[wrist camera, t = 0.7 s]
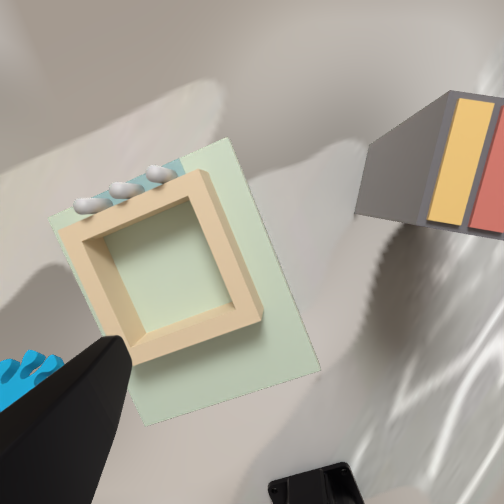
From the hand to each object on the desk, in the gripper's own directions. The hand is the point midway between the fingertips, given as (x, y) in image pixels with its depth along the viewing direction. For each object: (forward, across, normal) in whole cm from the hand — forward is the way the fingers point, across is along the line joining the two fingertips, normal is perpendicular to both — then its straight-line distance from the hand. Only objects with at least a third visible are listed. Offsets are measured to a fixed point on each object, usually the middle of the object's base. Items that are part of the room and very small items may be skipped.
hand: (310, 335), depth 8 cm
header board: (+14, +8, +8) cm, 18 cm away
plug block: (+16, -7, +3) cm, 18 cm away
